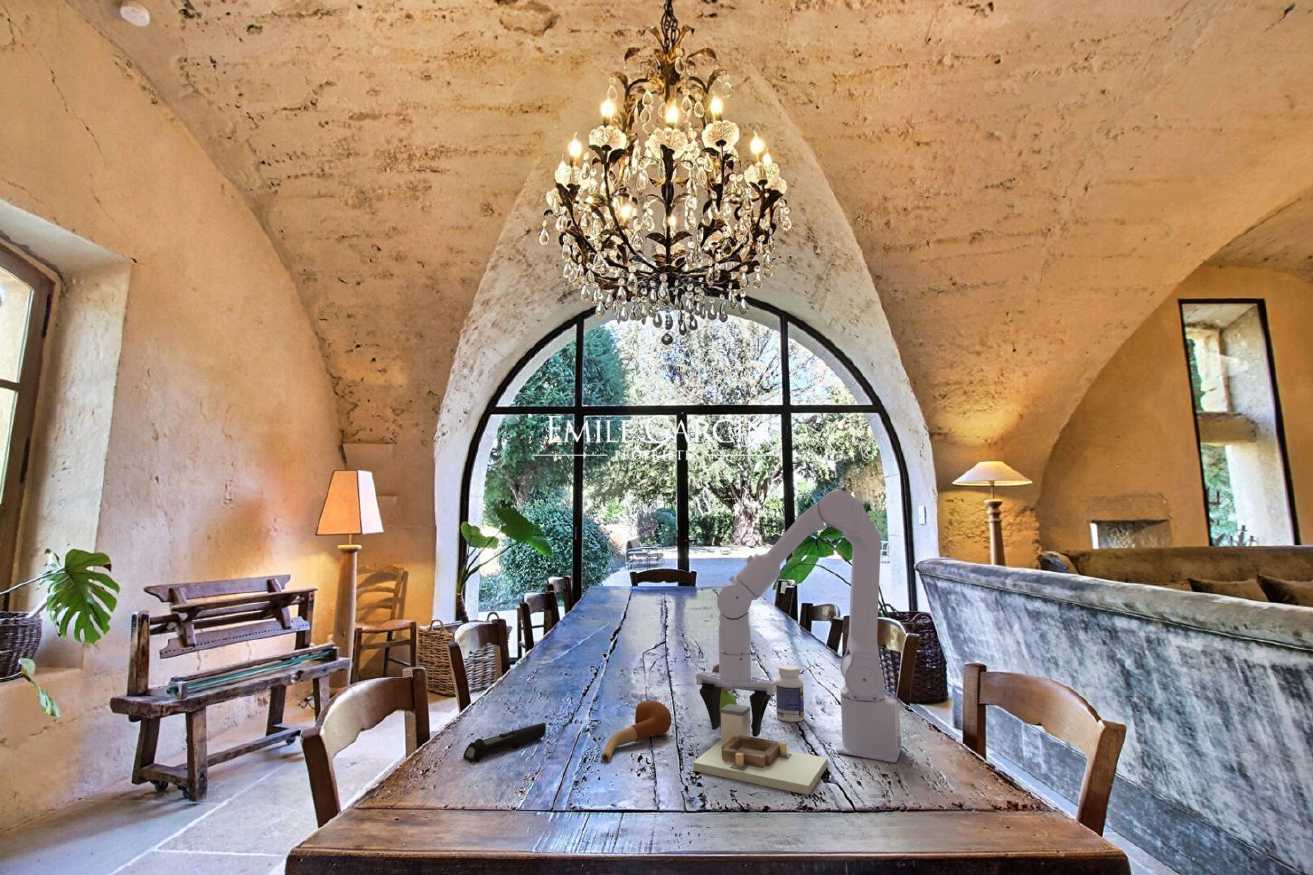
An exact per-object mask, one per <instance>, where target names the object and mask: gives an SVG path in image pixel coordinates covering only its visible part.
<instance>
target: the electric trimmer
mask: <svg viewBox="0 0 1313 875" xmlns="http://www.w3.org/2000/svg"><path fill="white" fill-rule="evenodd" d="M546 729H547V725H546V723H545V722H541V723H537V724H534V725H533V724H532V725H529V726H527V727H521V728H518V729H514V730H511V731H508V732H504V733H499V735H496V736H495V735H494V736H493V737H488V738H486V739H485V738H484V739H483V738H476V739H475V741H472V742H470V743H469V744H468V745H467V747H466V749H465V750H464V752H463V757H462V758H463V760H465V761H468V762H469V763H471V764H472V763H479V762H480V761H481V759H483V758H486V757H490V756H492V755H495V754H499V753H500V752H504V751H506V750H510V749H514V750H515V749H520V748H522V747H525V746H526V745H529V744H531V743H533V742H535V741H537V740H540V739H541V738H543V737H545V735H546Z"/></svg>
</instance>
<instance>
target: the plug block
mask: <svg viewBox="0 0 1313 875" xmlns="http://www.w3.org/2000/svg"><path fill="white" fill-rule="evenodd" d="M728 733H733V734H734V737H738V736H739V735H743V736H748V737H751V706H747V705H740V704H737V705H736V704H728V705H726V706H725V707H723V708H722V709H721V719H720V738H721V739H725V740H727V734H728ZM721 739H720V740H721Z"/></svg>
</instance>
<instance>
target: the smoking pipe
mask: <svg viewBox="0 0 1313 875" xmlns="http://www.w3.org/2000/svg"><path fill="white" fill-rule="evenodd" d="M634 721H635V722H634V723H635V724H634V723H633V724H632V725H630V726H629V727H627V728H624V729H622V730H619V731H618V732H615V733H614V734H613V735H612V736H611V737H610V738H609V740H608V742H607V743H606V745H605V748H604V749H603V752H602V753H601V757H600V758H601V761H603V762H606V763H607V762H610V761H611V759H612V755H613V753H614V751H615V749H616V748H618V747H620V746H623V745H625V744H626V745H627V744H630V743H633V742H635V743H637V742H641V741H642V740H646V739H647V738H651V737H654V736H656V737H659V736H663V735H665V734H667V732H669V730H670V729H671V725H672V714H671V712H670V710H669V708H668V707H667V706H666V705H665V704H663V703H661V702H659V701H655V700H652V701H644V702H640V703H639V702H638V704H636V708H635V718H634Z"/></svg>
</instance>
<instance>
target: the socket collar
mask: <svg viewBox="0 0 1313 875" xmlns="http://www.w3.org/2000/svg"><path fill="white" fill-rule="evenodd" d="M741 747H742V748H747V749H753V750H758V751H764V753H763V754H757V753H752V752H746V751H741V750H738V749H740V748H741ZM736 753H742V754H743V761H744V764H747V765H750V766H755V767H760V768H764V767H765V766H770V765H771V764H772V763H773V762H774V761H775V760H776V759H777V757H778V756H779V741H776V740H772V739H771V740H770V739H765V738H759V737H754V736H750V737H748V736H743V735H739V736H738V737H733V738H732V739H730V740H729V741H728V742H727V743H726V744H724V745H723V746H722V760H725V761H730V762H736Z"/></svg>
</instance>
